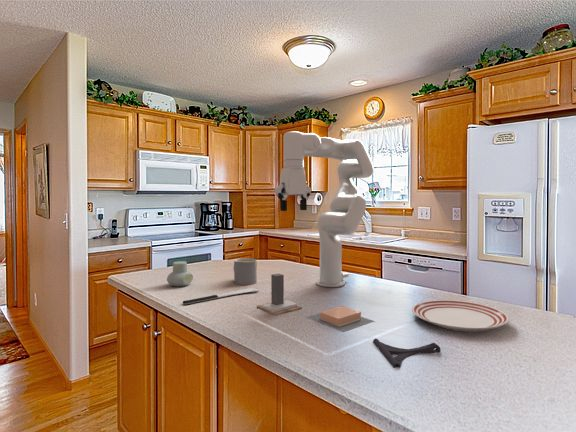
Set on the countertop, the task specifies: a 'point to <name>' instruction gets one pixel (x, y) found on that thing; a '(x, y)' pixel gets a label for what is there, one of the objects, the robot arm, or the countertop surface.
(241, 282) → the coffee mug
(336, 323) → the block
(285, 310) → the board
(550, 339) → the countertop surface
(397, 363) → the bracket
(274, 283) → the white base with post
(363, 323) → the mat
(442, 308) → the dinner plate
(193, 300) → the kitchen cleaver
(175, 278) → the air freshener
